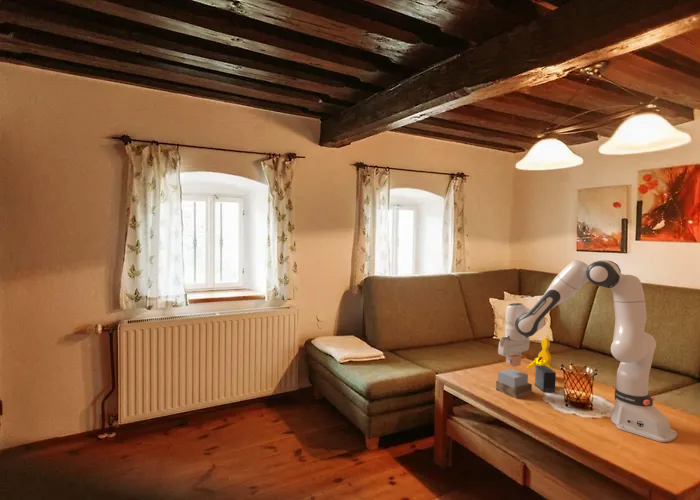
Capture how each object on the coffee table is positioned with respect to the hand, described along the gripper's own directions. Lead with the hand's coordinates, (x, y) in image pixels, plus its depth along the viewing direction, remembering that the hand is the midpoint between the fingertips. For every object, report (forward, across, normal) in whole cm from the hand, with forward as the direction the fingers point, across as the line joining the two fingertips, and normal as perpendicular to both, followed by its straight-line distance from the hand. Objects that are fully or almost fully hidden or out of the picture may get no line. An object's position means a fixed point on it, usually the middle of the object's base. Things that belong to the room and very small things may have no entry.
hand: (513, 361), depth 206 cm
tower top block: (+11, 0, 0) cm, 11 cm away
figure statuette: (+16, +31, +4) cm, 35 cm away
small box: (+16, +18, -6) cm, 25 cm away
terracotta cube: (+2, 0, 0) cm, 2 cm away
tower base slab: (+16, 0, 0) cm, 16 cm away
